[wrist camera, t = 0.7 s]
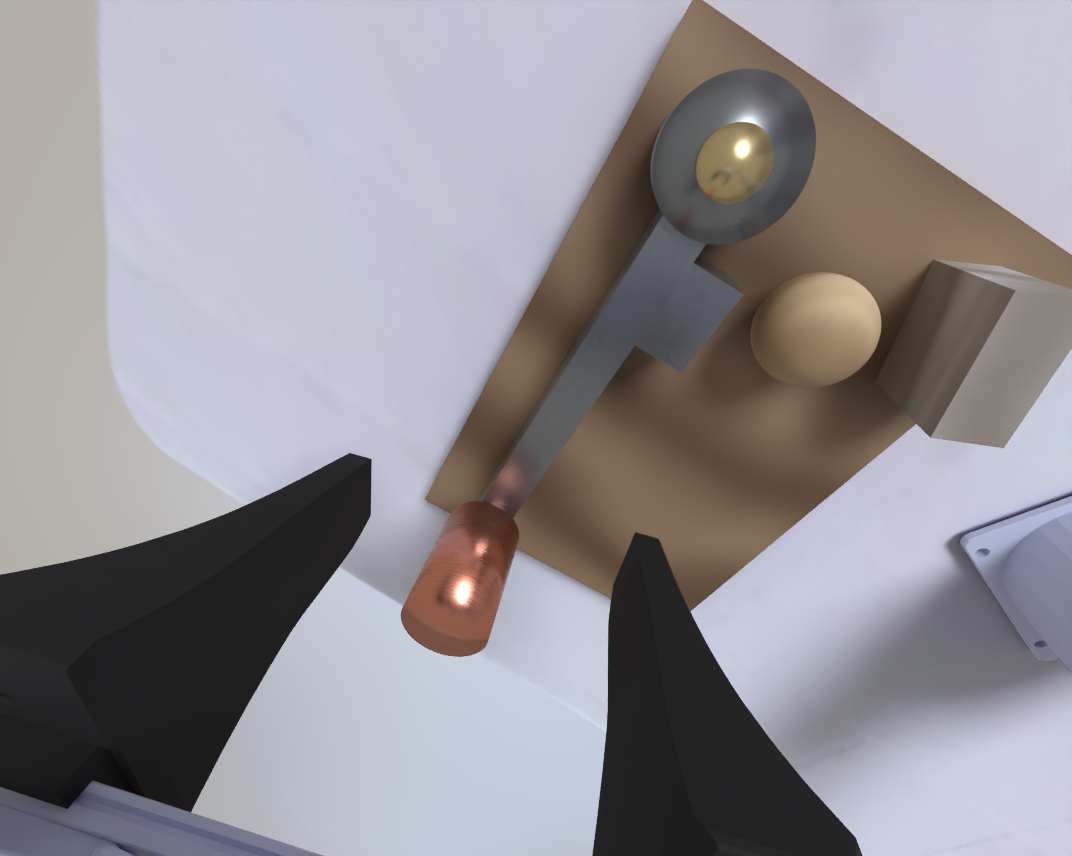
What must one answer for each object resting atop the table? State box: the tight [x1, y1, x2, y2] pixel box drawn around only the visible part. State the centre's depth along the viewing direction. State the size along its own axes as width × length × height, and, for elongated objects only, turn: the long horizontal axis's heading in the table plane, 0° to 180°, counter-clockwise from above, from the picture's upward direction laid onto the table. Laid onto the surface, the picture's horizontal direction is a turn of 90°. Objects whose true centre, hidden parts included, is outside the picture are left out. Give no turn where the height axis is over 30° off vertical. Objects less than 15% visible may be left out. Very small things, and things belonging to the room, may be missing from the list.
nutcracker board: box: [425, 0, 1072, 611], centre depth 19 cm, size 22×15×6 cm
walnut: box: [750, 272, 881, 388], centre depth 15 cm, size 4×4×4 cm
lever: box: [401, 69, 816, 657], centre depth 16 cm, size 20×5×8 cm, turn 152°
